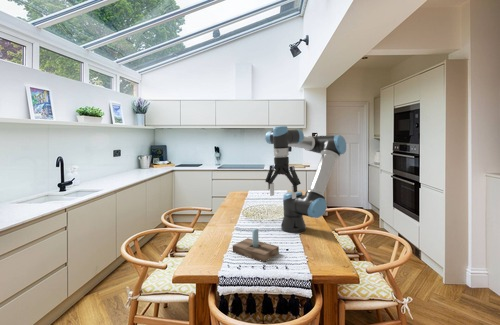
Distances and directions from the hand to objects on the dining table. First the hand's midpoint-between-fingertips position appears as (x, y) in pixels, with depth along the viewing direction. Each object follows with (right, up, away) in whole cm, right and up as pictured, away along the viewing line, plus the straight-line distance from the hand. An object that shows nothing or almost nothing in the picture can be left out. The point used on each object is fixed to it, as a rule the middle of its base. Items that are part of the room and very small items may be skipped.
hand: (282, 196), depth 145 cm
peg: (-14, -27, -6) cm, 31 cm away
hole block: (-14, -27, -6) cm, 31 cm away
